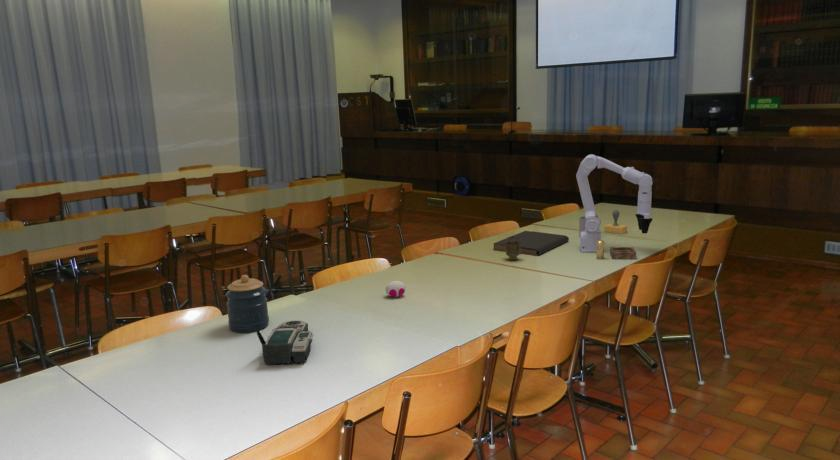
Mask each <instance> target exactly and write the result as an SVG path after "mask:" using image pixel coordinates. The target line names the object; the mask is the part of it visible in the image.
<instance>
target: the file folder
mask: <svg viewBox="0 0 840 460" xmlns="http://www.w3.org/2000/svg"><path fill="white" fill-rule="evenodd" d="M569 240H570V238H569V237H568V236H567V235H564V234H556V233H548V232H542V231H540V232H539V231H530V230H524V231H521V232H519V233H517V234H514V235H511V236H509V237H506V238H503V239H502V240H498V241H496V242H494V243H492V244H493V245H492V246H493V248H492V249H493V251H498V252H505V244H504V242H507V241H510V242H513V241H518V242H519V241H520V242H521V249H520V254H521V255H529V256H535V257H538V256H541V255H543V254H545V253H547V252H549V251H551V250H553V249H555V248H557V247H559V246H562V245H564V244H565V243H567V242H569ZM505 253H506V252H505ZM520 254H519V255H520Z"/></svg>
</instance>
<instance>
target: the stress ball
mask: <svg viewBox="0 0 840 460" xmlns="http://www.w3.org/2000/svg"><path fill="white" fill-rule="evenodd" d="M406 288H407V287H406V285H405V283H404V282H402V281H400V280H393V281H390V282H389V283H387V285H386V286H385V294H387V296H390V297H393V298H397V299H399V297H401V296H403V294H404V293H405V292H406V290H407V289H406Z"/></svg>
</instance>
